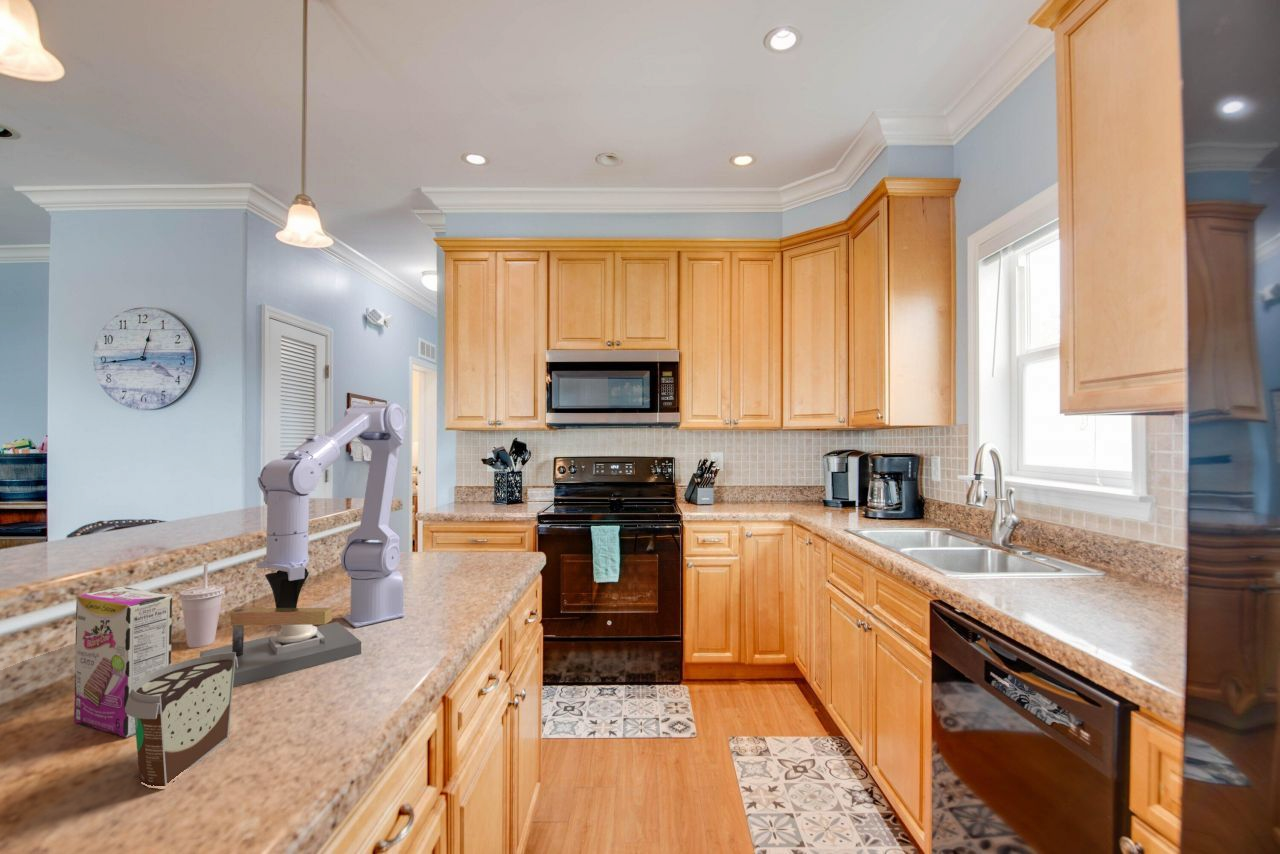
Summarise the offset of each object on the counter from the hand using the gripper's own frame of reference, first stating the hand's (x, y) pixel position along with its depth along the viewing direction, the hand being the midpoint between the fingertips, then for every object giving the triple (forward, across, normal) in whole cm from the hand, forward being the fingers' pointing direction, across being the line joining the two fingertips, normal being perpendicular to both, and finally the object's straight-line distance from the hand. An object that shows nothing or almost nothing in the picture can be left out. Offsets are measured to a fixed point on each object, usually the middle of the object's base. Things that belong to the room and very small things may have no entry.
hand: (286, 615), depth 85 cm
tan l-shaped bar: (+5, +2, -1) cm, 6 cm away
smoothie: (+8, -20, -9) cm, 24 cm away
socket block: (+8, -2, 0) cm, 8 cm away
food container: (+8, +23, -15) cm, 28 cm away
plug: (+6, -2, +2) cm, 7 cm away
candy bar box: (+8, +7, -19) cm, 22 cm away
